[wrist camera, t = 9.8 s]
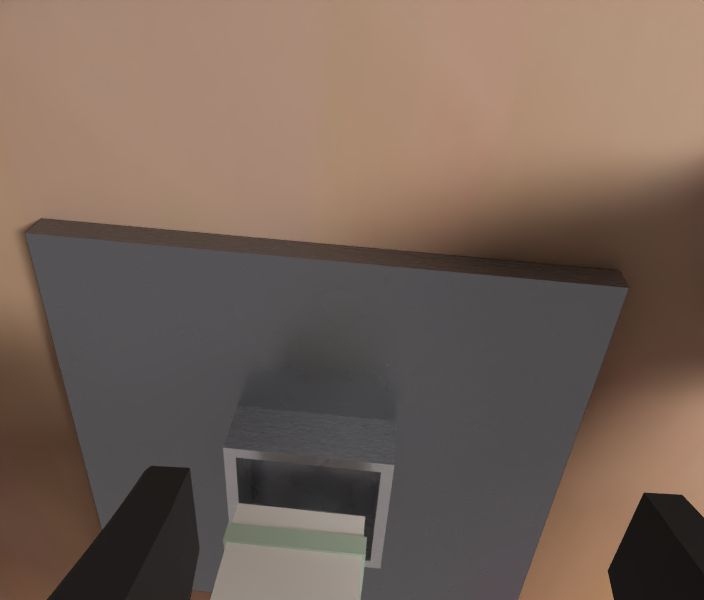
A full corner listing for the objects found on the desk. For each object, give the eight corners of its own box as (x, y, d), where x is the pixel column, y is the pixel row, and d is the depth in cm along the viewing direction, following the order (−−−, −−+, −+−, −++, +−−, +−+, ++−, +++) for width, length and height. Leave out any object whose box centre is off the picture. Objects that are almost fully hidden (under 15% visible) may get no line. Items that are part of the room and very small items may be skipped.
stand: (619, 270, 19) (660, 346, 16) (506, 604, 29) (517, 691, 26) (41, 218, 20) (-30, 281, 17) (123, 562, 30) (89, 642, 27)
